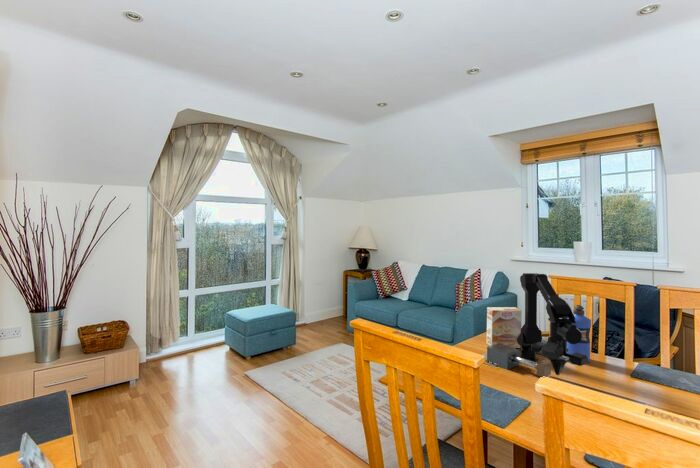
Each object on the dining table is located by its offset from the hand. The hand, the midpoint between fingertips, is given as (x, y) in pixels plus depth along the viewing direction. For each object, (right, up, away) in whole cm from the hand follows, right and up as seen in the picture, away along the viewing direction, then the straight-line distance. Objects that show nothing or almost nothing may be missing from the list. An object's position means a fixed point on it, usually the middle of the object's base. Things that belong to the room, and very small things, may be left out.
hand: (557, 374), depth 136 cm
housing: (-13, -3, +20) cm, 24 cm away
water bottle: (+24, -3, +24) cm, 34 cm away
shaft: (-7, -2, +11) cm, 13 cm away
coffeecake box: (-3, -3, +41) cm, 42 cm away
